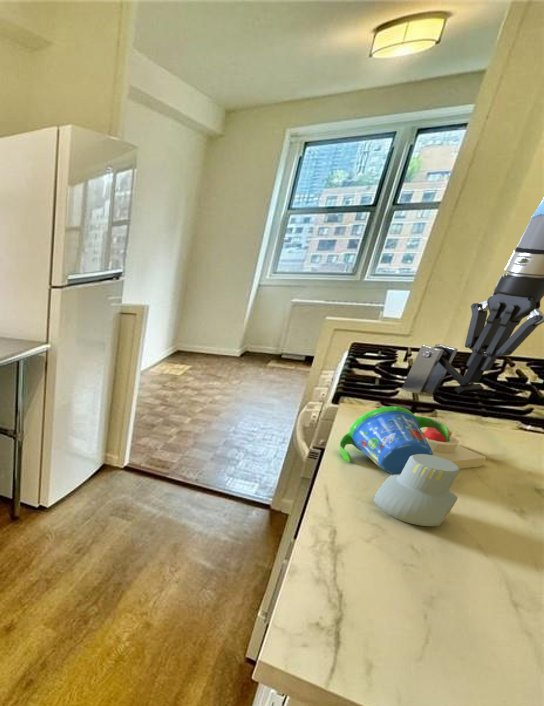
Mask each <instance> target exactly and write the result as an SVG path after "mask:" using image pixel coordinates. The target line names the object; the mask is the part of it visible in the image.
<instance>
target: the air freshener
mask: <svg viewBox="0 0 544 706" xmlns="http://www.w3.org/2000/svg"><path fill="white" fill-rule="evenodd" d="M460 472H461V468H460V469H459V468H458V466H457V465H456V464H454V463H453V462H451V461H449V460H446V459H444V458H441V457H437V456H433V455H427V454H416V455H412V456H410V457H409V459H408V461H407V463H406V465H405V467H404V469H403V470H402V472H401V474H395V475H393V474H390V475H389V476H388V477H387V478H386V479H385V480H384V482H383V483H382V484H381V485H380V487H379V488H378V489H377V491H376V493H375V495H374V497H373V502H374V504H375V505H376V506H377V507H378V508H379V510H381V511H383V512H384V513H385V514H387V515H389V517H392V518H394V519H396V520H398V521H401V522H404V523H407V524H411V525H415V526H422V527H440V525H442V523H443V522H444V521H445V519H446V518H447V516H448V515H449V513H450V512H451V510H452V509H453V508H454V507H455V505H456V502H457V501H458V498H459V497H458V495H456V493H454V492H453V491H452V490H450V489H451V488H452V486H453V484H454V482H455V480H456V479H457V477H458V475H459V474H460Z"/></svg>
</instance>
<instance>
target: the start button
mask: <svg viewBox="0 0 544 706" xmlns="http://www.w3.org/2000/svg"><path fill="white" fill-rule="evenodd" d="M425 430H426V431H425V433H424V436H425V437H426V438H428V439H431V440H435V441H439V442H447V441H446V438H445V437H444V436H442V435H441V434H440V433H439V432H438V431H437V430H436V429H435V428H431V427H426V429H425ZM449 434H450V436H452V435H453V434H452V432H451V431H450V430H449Z"/></svg>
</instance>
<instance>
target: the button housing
mask: <svg viewBox="0 0 544 706" xmlns="http://www.w3.org/2000/svg"><path fill="white" fill-rule="evenodd" d="M421 431H422V432H423V434H424V433H425V431H426V429H421ZM425 438H426V437H425ZM426 440H427V442H428V443H429V445H430V447H431V450H432V452H433V456H437V457H441V458H444V459H446V460H449V461H451V462H453V463H454V464H456V465H457V466H458V468H459V469H460V470H461V469H467V468H477V467H482V466H483V464H484V463H485V461H486V460H487V457H486V456H484V455H482V454H479V453H477V452H475V451H473V450H470V449H468V448H466V447H464V446H461V445H459V443H460V441H459V440H458V439H457V438H455V437H454V436H453V435H451V436H450V441H449V442H439V441H435V440H431V439H428V438H426Z"/></svg>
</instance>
